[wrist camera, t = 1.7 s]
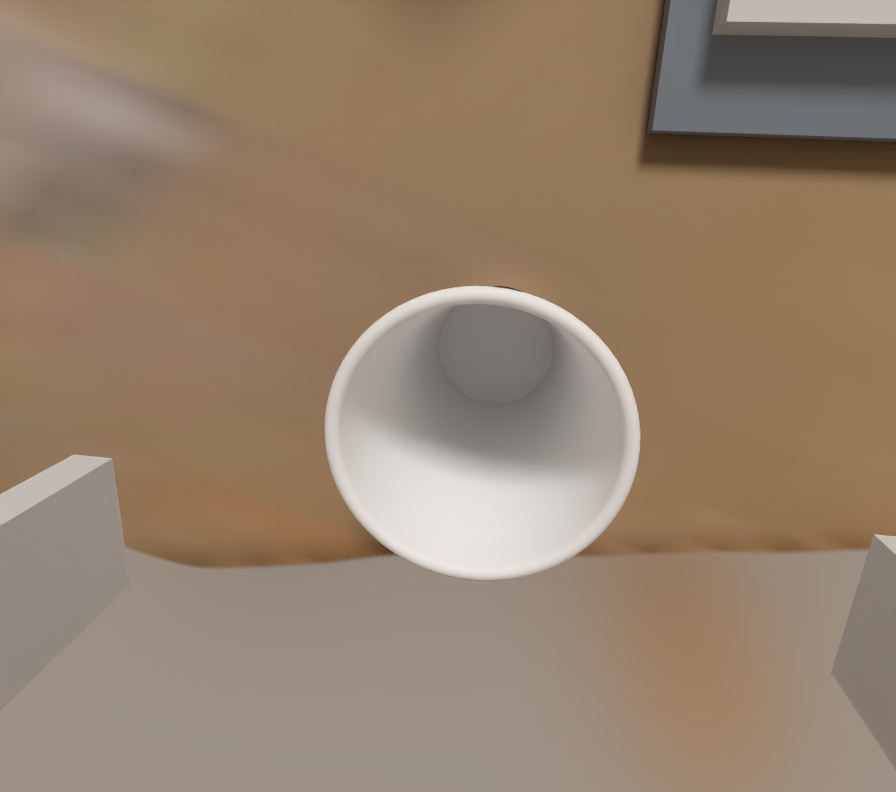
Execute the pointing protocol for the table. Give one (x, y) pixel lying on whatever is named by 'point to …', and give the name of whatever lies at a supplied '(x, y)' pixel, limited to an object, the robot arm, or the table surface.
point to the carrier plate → (777, 69)
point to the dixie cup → (482, 433)
